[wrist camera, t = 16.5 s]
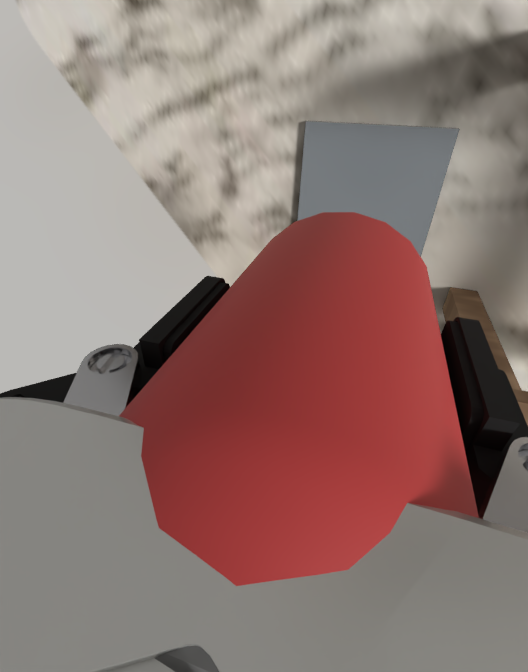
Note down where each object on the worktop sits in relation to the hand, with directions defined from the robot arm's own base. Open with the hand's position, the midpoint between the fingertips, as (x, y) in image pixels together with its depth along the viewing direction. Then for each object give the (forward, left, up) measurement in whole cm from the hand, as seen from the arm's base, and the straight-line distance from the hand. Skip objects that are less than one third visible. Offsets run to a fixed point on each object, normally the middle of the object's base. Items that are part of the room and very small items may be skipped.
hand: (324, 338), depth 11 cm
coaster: (0, 0, -19) cm, 19 cm away
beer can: (0, 0, -3) cm, 3 cm away
